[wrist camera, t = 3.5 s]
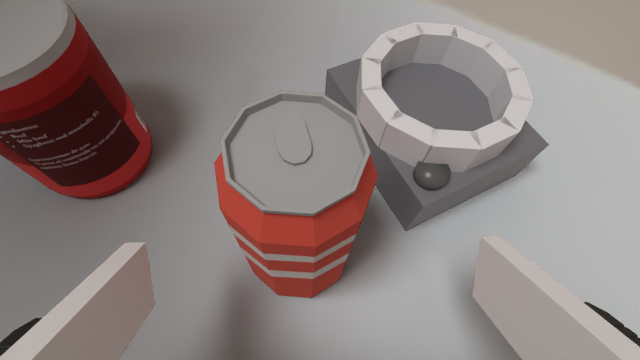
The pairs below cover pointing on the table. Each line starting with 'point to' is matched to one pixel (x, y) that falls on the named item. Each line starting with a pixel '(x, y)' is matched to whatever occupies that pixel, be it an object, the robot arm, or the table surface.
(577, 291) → the table surface
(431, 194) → the mount
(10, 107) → the canned food
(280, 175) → the beverage can
